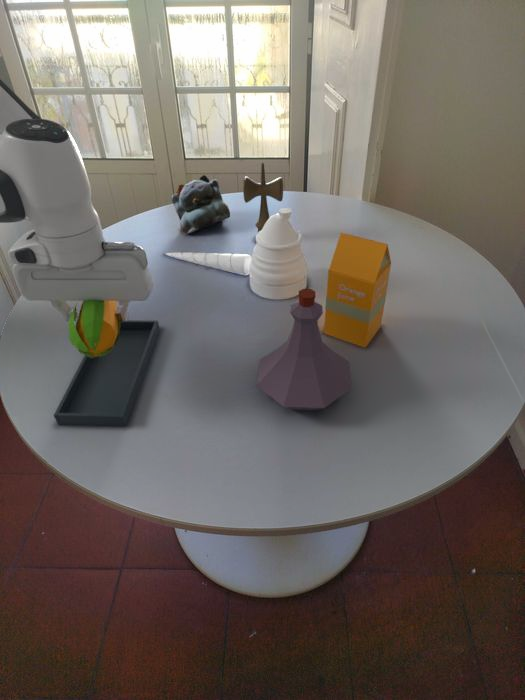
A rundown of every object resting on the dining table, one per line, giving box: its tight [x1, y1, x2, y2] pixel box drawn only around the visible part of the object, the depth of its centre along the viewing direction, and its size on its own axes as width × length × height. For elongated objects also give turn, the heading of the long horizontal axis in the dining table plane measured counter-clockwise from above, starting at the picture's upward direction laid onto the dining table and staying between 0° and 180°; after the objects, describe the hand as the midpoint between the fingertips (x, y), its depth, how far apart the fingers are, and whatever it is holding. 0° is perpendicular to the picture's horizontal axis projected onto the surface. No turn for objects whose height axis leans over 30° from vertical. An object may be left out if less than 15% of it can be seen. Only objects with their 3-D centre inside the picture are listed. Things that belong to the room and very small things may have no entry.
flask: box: [256, 288, 353, 411], centre depth 74 cm, size 16×16×20 cm
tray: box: [53, 319, 161, 428], centre depth 84 cm, size 11×25×3 cm, turn 177°
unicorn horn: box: [165, 251, 252, 277], centre depth 113 cm, size 5×24×5 cm, turn 61°
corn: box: [67, 300, 121, 358], centre depth 76 cm, size 7×8×20 cm
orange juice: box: [323, 232, 392, 349], centre depth 86 cm, size 8×9×20 cm
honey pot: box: [248, 207, 308, 300], centre depth 100 cm, size 13×13×18 cm
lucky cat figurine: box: [170, 174, 231, 235], centre depth 127 cm, size 15×12×14 cm
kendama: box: [242, 162, 284, 242], centre depth 116 cm, size 6×10×20 cm, turn 87°
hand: (97, 319), depth 77 cm, fingers closed on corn, 7 cm apart
